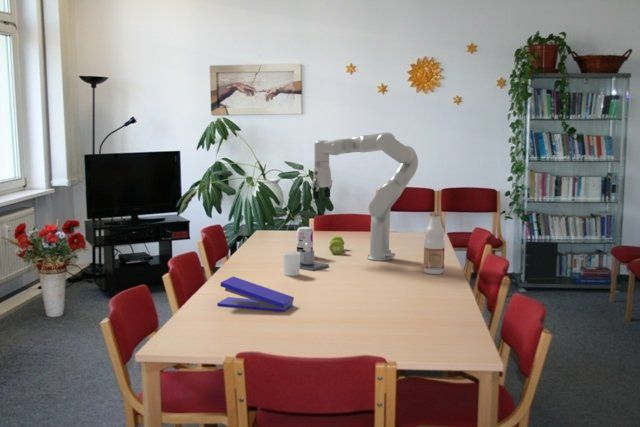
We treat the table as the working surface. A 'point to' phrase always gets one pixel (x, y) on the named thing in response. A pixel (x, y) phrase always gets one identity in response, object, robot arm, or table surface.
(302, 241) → the supplement can
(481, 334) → the table surface
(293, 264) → the white cup
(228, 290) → the stapler
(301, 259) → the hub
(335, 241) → the dumbbell
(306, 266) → the shaft stand
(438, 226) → the fruit juice
